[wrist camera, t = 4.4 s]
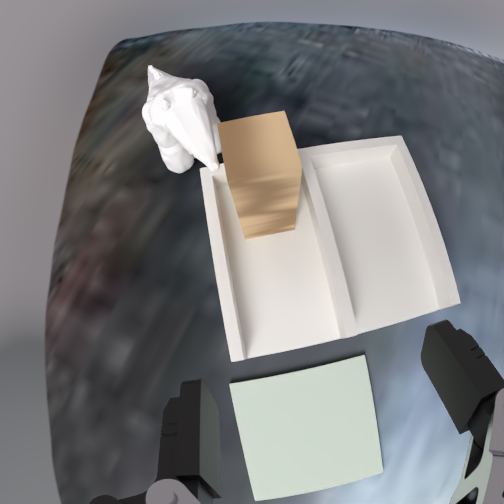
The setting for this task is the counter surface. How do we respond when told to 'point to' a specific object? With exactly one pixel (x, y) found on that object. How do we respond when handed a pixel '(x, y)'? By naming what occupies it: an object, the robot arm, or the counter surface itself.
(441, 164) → the counter surface
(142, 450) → the counter surface
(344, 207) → the tray
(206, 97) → the dinosaur statue
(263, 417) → the sage mat
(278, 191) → the oak block
